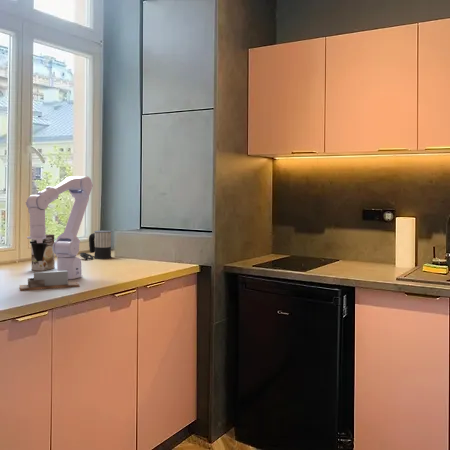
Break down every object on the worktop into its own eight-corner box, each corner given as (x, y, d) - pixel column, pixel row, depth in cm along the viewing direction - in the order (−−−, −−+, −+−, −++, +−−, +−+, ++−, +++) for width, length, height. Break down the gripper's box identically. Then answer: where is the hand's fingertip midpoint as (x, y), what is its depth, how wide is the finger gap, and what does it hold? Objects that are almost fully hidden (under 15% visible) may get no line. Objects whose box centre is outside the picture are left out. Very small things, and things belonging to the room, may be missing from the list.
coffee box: (43, 271, 239) (42, 235, 238) (31, 270, 241) (30, 235, 240) (55, 268, 248) (54, 234, 247) (43, 267, 249) (42, 233, 248)
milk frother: (114, 257, 288) (114, 230, 287) (102, 261, 273) (101, 232, 272) (90, 256, 291) (90, 230, 291) (76, 260, 276) (76, 232, 275)
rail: (66, 283, 203) (66, 270, 203) (67, 284, 200) (67, 271, 200) (33, 285, 198) (33, 272, 198) (34, 286, 196) (34, 273, 195)
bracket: (76, 283, 207) (76, 275, 207) (79, 286, 200) (79, 278, 200) (19, 287, 199) (19, 278, 198) (20, 290, 192) (20, 281, 192)
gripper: (25, 224, 211) (26, 258, 212) (28, 226, 197) (29, 262, 198) (44, 224, 214) (44, 257, 214) (47, 226, 200) (48, 261, 201)
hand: (38, 259), depth 207 cm, fingers open, 7 cm apart
